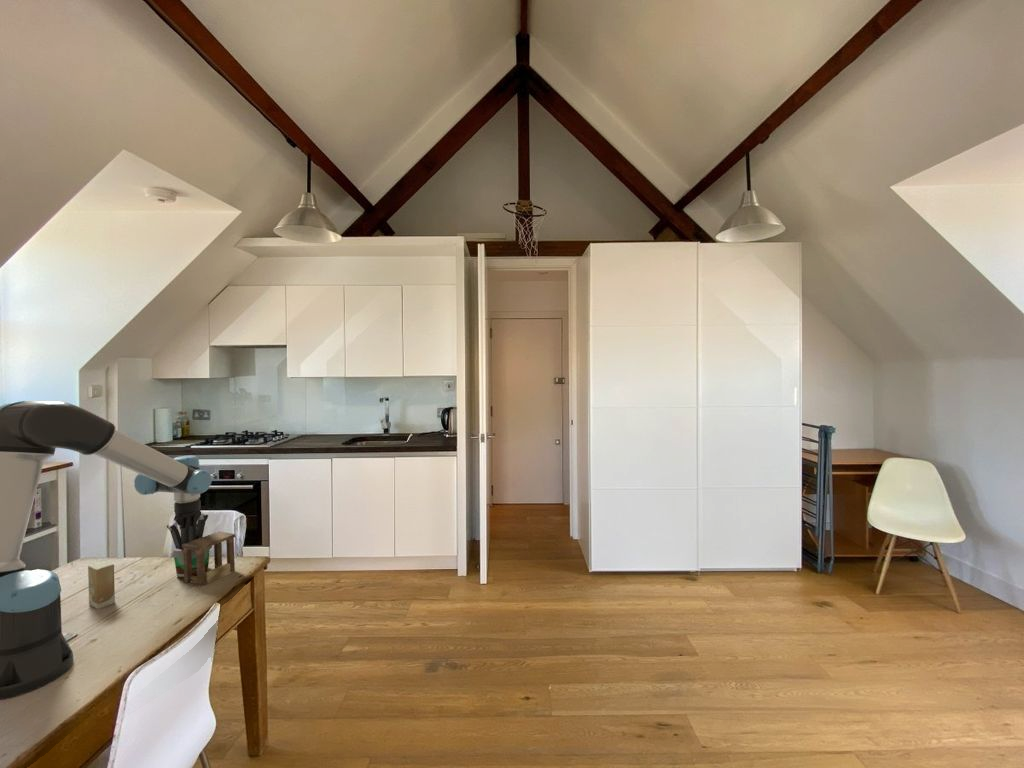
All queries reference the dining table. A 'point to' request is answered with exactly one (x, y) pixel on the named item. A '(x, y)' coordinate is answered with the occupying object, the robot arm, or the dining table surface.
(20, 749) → the dining table surface
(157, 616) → the dining table surface
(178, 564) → the food container
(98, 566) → the skincare box
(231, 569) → the small wooden bench
